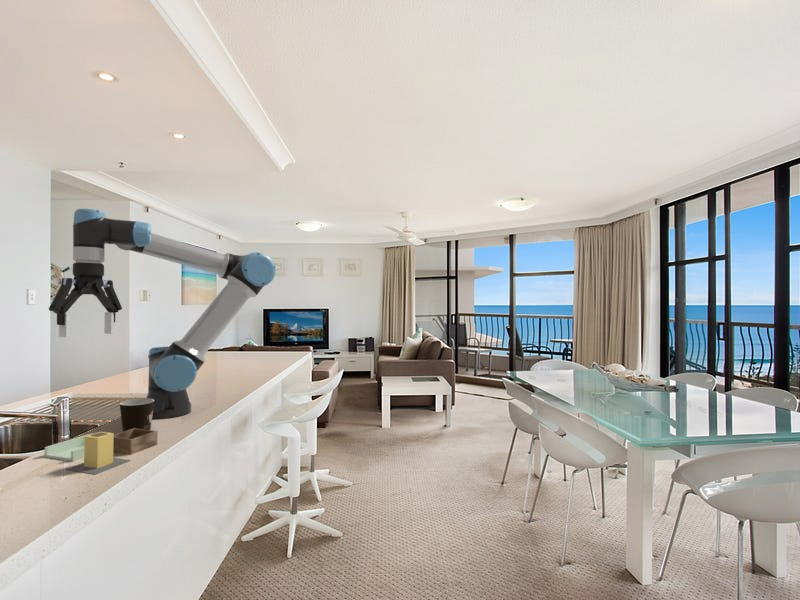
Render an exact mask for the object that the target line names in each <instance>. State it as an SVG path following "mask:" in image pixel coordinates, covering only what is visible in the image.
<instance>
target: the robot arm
mask: <svg viewBox="0 0 800 600" xmlns="http://www.w3.org/2000/svg"><path fill="white" fill-rule="evenodd" d="M72 227H73V228H72V232H73V233H72V237H73V238H72V240H73V241H72V243H73V244H72V245H73V247H72V260H73V261H74V263H72V275H73V278H72V277H63V278H62V279H61V282H60V283H61V284H60V286H59V289H58V291H57V292H56V295H55V296H54V298H53V300H52V302H51V303H50V304H49V305H50V306H49V307H48V310H49V311H50V312H53V314H56V325H57V326H58V337H59V338H69V337H70V313H67V312H68V311H69V310H70V309H71V307H72V306H73V305H74V304H75V303H76V302H77V300H78V299H79V298H80V297H81V296H84V295H93V296H94V297H96V299H97V300H98V301H99V303H100V304H101V306H103V308H104V309H105V311H106V312H104V335H105V334H106V335H107V334H109V335H113V334H114V328H115V327H114V325H115V324H114V323H116V313H119V311H121V310H122V309H123V307H122V305H121V302H120V300H119V297H118V295H117V293H116V291H115V289H114V282H113V280H111V279H104V280H103V277H104V276H105V265H104V264H103V263H105V244H106V245H116V247H117V248H119V249H120V250H124V251H131V252H135V253H139V254H143V255H147V256H150V257H153V258H158V259H161V260H164V261H169V262H172V263H176V264H180V265H183V266H187V267H191V268H193V269H197V270H201V271H205V272H208V273H212V274H216V275H218V277H219V278H220V279H223V280H226V281H227V283H226V285H225V286H224V287H223V288H222V289H221V291H220V292H219V294H217V296H216V297H215V298H214V299H213V301H212V302H211V303H210V304H209V306H207V308H206V309H205V311H204V312H203V313H202V314H201V315H200V317H198V319H197V320H196V321H195V323H194V324H193V325H192V326H191V327H190V329H189V330H188V331H187V332H186V333H185V334H184V336H183V337H182V338H181V339H180V340H175V341H173V342H172V343H171V344H170V345H169V346H159V347H156V346H155V347H152V348H150V349H149V351H148V391H147V395H146V398H145V399H154V408H153V415H152V419H168V418H169V419H170V418H175V417H181V416H184V415H187V414H189V413H191V412H192V403H191V402H190V399H189V394H188V391H187V389H188V388H189V387H190V386H191V385H192V384H193V383H194V382H195V380H196V377H197V374H198V371H199V370H200V369H201V367H202V366H203V364H204V363H205V361H206V360H205V354H206V353H208V351H209V349H210V348H211V347H212V345H214V343H215V342H216V340H217V339H219V336H220V335H221V334H222V333H223V332H224V330H225V329H226V328H227V327H228V325H229V324H230V323H231V322H232V320H233V319H234V318H235V316H236V315H237V314H238V313H239V311H240V310H241V309H242V307H243V306H244V305H245V304H246V302H248V300H249V299H250V298H254V297H255V298H256V296H258V294H259V293H260V292H261V290H262V289H263V288H264V287H265V286H268V285H269V284H270V283H271V282H272V281H274V278H275V276H276V265H275V263H274V261H273V260H272V258H271V257H270V256H268V255H267V254H265V253H263V252H257V251H256V252H254V251H253V252H251V253H248V254H245V255H238V254H233V253H229V252H226V253H223V254H222V253H220V252H216V251H213V250H209V249H206V248H203V247H199V246H197V245H193V244H190V243H186V242H183V241H180V240H176V239H173V238H169V237H165V236H162V235H159V234H155V233H152V226H151V224H150V223H149V222H143V221H139V220H137V221H136V220H135V221H134V220H124V219H123V220H122V219H112V218H107V217H106V213H105V212H104V211H102V210H99V209H94V208H93V209H92V208H77V209H76V210H74V213H73V224H72ZM72 287H73V288H72ZM69 292H70V294H69Z"/></svg>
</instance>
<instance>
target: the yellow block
mask: <svg viewBox="0 0 800 600" xmlns="http://www.w3.org/2000/svg"><path fill="white" fill-rule="evenodd" d="M94 433H95V434H91V435H88V436H85V445H84V458H83V460H84V461H83V463H84V467H90V468H96V469H98V468H100V467H103V466H106V465H108V464H111V463H113V458H114V452H113V439H114V435H115V434H114V432H108V431H107V432H106V431H99V432H98V431H97V432H94Z"/></svg>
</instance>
